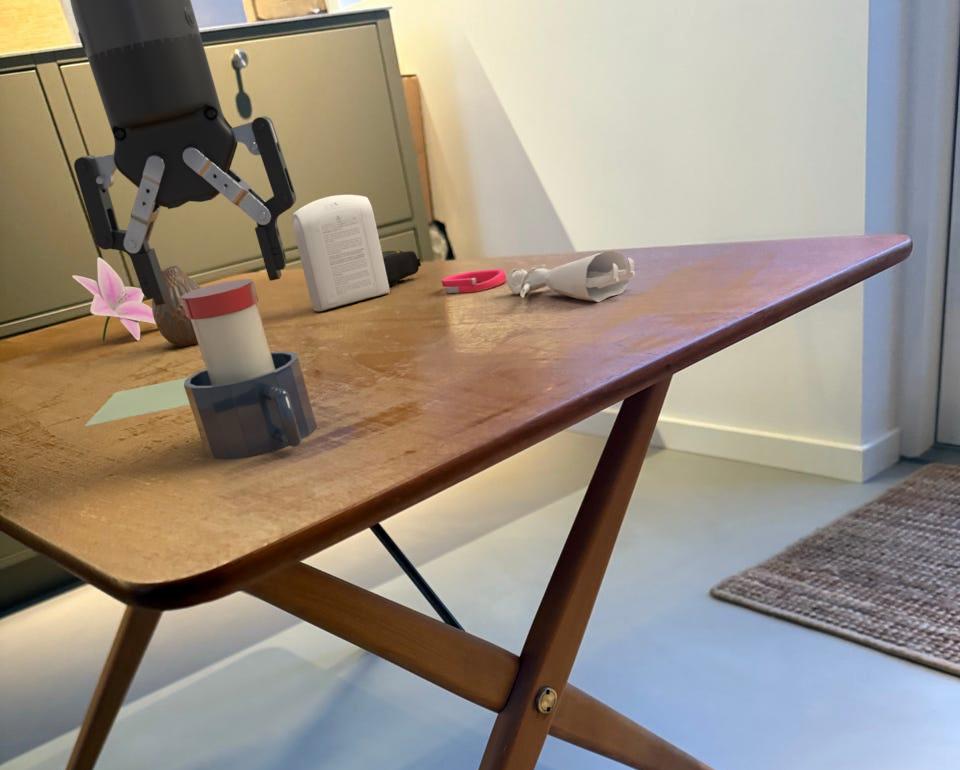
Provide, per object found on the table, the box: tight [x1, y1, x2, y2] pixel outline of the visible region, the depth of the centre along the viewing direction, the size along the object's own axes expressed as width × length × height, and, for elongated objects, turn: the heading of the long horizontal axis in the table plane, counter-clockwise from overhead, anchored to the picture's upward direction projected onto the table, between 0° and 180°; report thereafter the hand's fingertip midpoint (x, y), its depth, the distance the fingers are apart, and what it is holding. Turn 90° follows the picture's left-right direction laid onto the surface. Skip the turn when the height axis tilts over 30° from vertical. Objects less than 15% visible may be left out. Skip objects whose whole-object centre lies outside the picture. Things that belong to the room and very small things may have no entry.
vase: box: [151, 265, 202, 348], centre depth 123 cm, size 7×7×9 cm
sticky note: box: [83, 376, 190, 428], centre depth 101 cm, size 14×12×1 cm
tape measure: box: [382, 249, 422, 286], centre depth 135 cm, size 7×7×4 cm
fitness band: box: [441, 268, 507, 294], centre depth 122 cm, size 8×6×2 cm
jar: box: [181, 278, 275, 386], centre depth 78 cm, size 5×5×12 cm
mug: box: [184, 350, 318, 460], centre depth 79 cm, size 12×9×6 cm
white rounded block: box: [292, 194, 391, 312], centre depth 126 cm, size 10×4×12 cm, turn 116°
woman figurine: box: [506, 249, 636, 303], centre depth 108 cm, size 12×4×18 cm
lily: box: [71, 257, 156, 342], centre depth 136 cm, size 12×12×10 cm
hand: (219, 291), depth 76 cm, fingers open, 8 cm apart
